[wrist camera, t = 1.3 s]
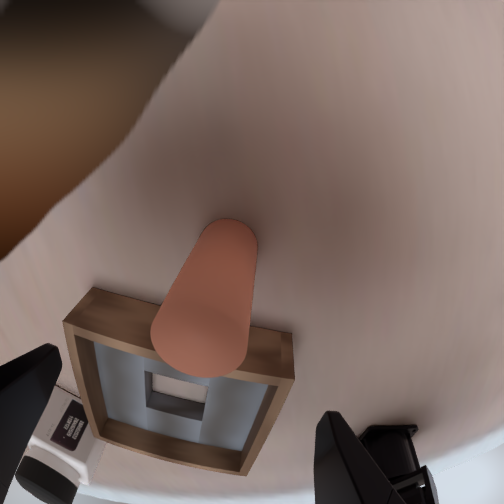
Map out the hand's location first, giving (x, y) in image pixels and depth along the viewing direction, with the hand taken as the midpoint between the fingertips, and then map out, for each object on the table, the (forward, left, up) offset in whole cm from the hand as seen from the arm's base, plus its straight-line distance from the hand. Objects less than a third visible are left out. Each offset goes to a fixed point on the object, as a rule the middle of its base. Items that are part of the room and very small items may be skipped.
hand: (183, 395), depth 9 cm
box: (+2, +13, -11) cm, 17 cm away
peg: (0, 0, -11) cm, 11 cm away
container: (+14, +25, -12) cm, 31 cm away
